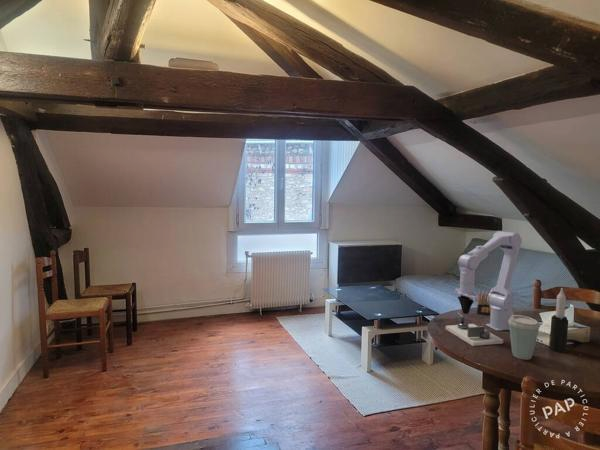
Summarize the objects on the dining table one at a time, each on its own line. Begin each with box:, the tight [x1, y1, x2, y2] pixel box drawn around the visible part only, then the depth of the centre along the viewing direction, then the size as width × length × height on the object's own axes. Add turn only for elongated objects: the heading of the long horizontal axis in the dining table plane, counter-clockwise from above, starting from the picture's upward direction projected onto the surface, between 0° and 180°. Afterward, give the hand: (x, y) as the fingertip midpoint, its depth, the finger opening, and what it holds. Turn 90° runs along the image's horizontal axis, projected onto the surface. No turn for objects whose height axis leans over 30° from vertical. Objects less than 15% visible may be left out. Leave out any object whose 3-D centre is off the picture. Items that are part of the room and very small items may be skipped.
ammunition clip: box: [476, 290, 501, 316], centre depth 208 cm, size 11×2×12 cm, turn 78°
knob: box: [455, 312, 469, 329], centre depth 187 cm, size 10×4×4 cm, turn 178°
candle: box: [549, 287, 569, 354], centre depth 164 cm, size 5×5×25 cm
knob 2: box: [467, 325, 491, 339], centre depth 173 cm, size 10×4×4 cm, turn 102°
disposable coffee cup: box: [508, 314, 541, 361], centre depth 157 cm, size 11×11×15 cm
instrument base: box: [445, 323, 504, 347], centre depth 179 cm, size 14×20×2 cm
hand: (465, 313), depth 180 cm, fingers closed
